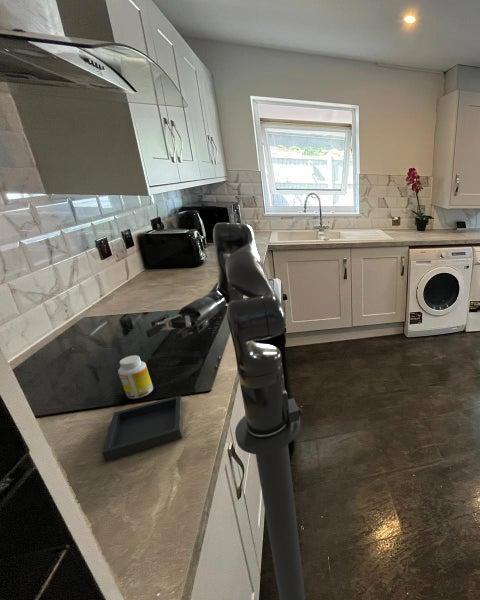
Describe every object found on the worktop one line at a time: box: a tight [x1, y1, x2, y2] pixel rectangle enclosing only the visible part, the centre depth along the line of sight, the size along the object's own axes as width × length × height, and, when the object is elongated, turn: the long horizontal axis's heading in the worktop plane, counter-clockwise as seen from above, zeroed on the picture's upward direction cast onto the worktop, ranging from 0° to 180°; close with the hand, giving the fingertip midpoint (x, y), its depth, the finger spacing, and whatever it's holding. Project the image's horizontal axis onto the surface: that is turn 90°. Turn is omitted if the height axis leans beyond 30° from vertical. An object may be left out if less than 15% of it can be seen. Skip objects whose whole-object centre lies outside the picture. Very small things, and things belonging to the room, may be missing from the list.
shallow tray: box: [101, 395, 184, 463], centre depth 73 cm, size 13×13×2 cm
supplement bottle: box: [117, 355, 154, 400], centre depth 82 cm, size 6×6×10 cm
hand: (162, 335), depth 90 cm, fingers open, 8 cm apart
